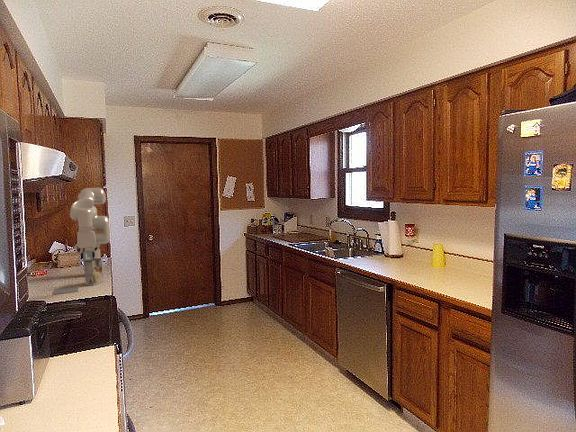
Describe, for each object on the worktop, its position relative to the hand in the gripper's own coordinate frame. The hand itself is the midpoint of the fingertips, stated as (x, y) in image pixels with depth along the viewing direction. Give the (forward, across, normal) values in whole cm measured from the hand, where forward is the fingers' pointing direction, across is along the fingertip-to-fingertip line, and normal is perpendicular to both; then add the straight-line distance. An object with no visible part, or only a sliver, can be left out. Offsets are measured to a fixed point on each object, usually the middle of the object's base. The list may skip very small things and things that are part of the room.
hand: (87, 258), depth 237 cm
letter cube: (+1, 0, 0) cm, 1 cm away
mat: (+20, +13, -7) cm, 25 cm away
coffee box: (+21, -3, -17) cm, 27 cm away
